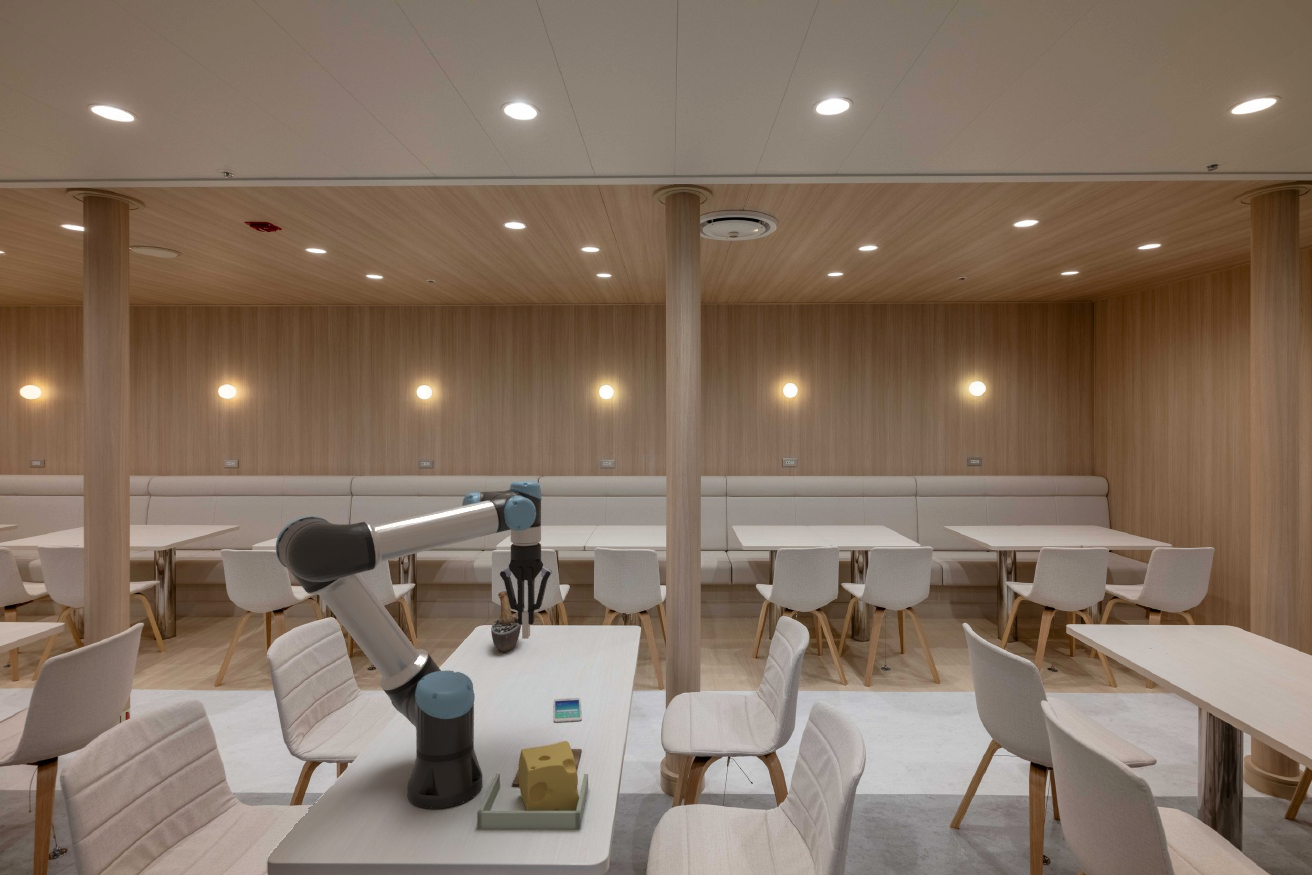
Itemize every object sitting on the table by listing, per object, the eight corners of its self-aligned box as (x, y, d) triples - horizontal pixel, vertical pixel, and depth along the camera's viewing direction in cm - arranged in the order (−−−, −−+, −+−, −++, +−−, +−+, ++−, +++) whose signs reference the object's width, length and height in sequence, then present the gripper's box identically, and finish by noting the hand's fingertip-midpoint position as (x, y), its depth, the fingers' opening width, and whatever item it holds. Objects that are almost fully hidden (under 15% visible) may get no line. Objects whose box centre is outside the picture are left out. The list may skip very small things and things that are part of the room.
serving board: (572, 786, 144) (572, 783, 144) (512, 786, 144) (512, 783, 144) (581, 751, 160) (581, 748, 160) (526, 751, 160) (526, 748, 160)
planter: (514, 638, 248) (514, 584, 248) (537, 649, 235) (536, 592, 235) (476, 646, 239) (476, 590, 239) (497, 658, 226) (497, 599, 226)
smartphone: (553, 721, 176) (553, 698, 191) (553, 724, 176) (553, 701, 191) (582, 719, 177) (580, 697, 192) (582, 722, 177) (580, 700, 192)
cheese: (579, 811, 135) (579, 761, 135) (525, 821, 131) (525, 770, 131) (568, 785, 145) (568, 739, 145) (517, 794, 141) (517, 747, 141)
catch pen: (579, 828, 129) (579, 812, 129) (477, 828, 129) (477, 812, 129) (588, 787, 144) (588, 773, 144) (496, 787, 144) (496, 773, 144)
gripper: (554, 540, 173) (554, 632, 173) (503, 540, 173) (503, 632, 173) (549, 545, 165) (549, 641, 166) (496, 545, 165) (496, 641, 166)
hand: (526, 636), depth 169 cm, fingers closed
